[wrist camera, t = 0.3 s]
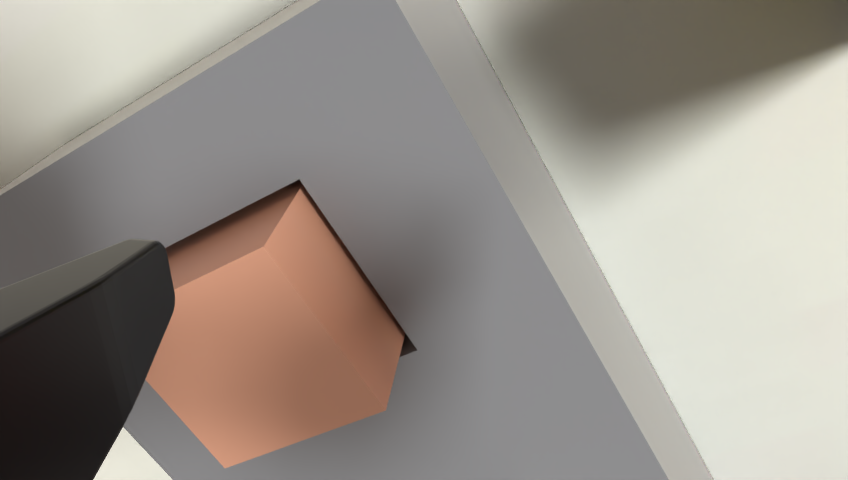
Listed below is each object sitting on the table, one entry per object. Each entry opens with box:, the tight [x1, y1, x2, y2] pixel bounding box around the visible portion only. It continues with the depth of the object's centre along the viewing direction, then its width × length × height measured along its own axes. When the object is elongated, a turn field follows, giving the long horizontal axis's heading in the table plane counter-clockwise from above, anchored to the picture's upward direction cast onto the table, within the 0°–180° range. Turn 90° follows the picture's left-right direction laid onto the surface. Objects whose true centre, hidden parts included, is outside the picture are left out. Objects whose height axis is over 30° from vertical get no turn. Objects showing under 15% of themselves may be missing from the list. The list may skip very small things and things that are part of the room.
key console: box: [0, 0, 713, 480], centre depth 25 cm, size 24×14×6 cm, turn 30°
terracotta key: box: [145, 179, 405, 468], centre depth 19 cm, size 5×5×4 cm
